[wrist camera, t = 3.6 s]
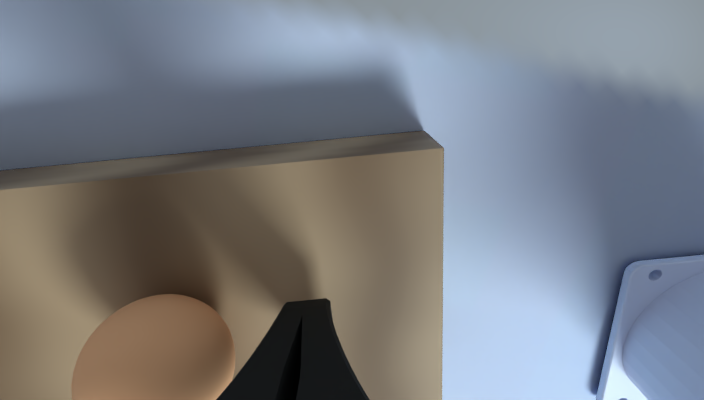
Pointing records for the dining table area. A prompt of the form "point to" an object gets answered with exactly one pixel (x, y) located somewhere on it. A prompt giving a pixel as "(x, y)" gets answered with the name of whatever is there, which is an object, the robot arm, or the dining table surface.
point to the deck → (231, 253)
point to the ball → (157, 353)
